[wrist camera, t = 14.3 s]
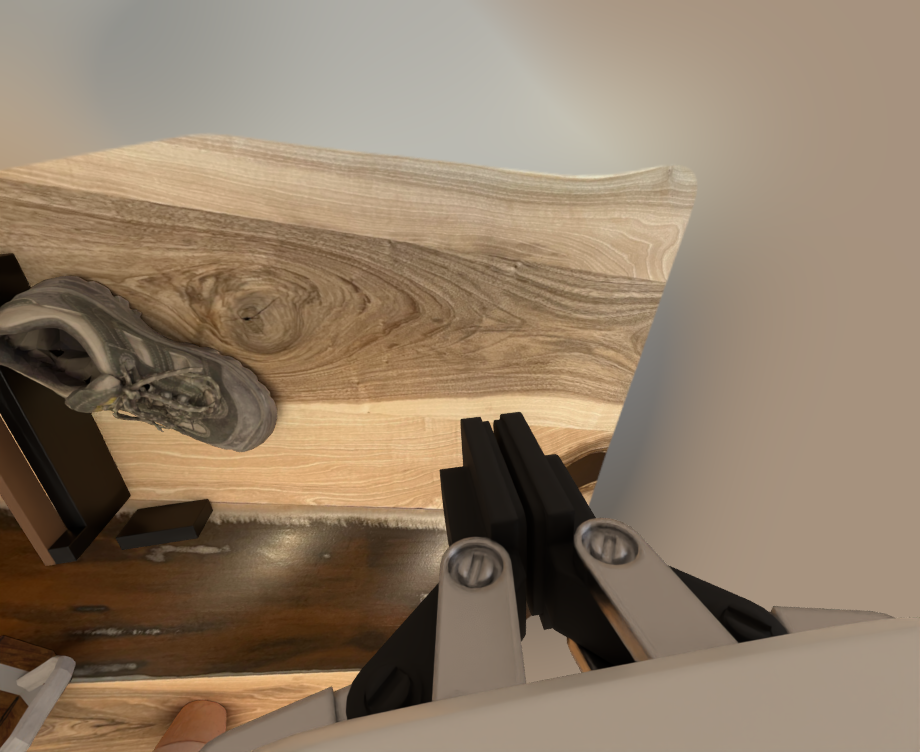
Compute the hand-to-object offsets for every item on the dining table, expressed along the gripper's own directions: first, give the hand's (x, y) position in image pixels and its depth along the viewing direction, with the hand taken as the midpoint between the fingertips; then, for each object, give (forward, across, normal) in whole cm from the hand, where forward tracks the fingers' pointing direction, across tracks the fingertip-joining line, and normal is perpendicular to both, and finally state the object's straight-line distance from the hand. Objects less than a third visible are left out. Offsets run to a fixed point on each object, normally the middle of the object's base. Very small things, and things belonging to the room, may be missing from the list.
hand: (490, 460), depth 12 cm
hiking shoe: (+30, +24, +7) cm, 39 cm away
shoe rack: (+29, +29, +10) cm, 43 cm away
